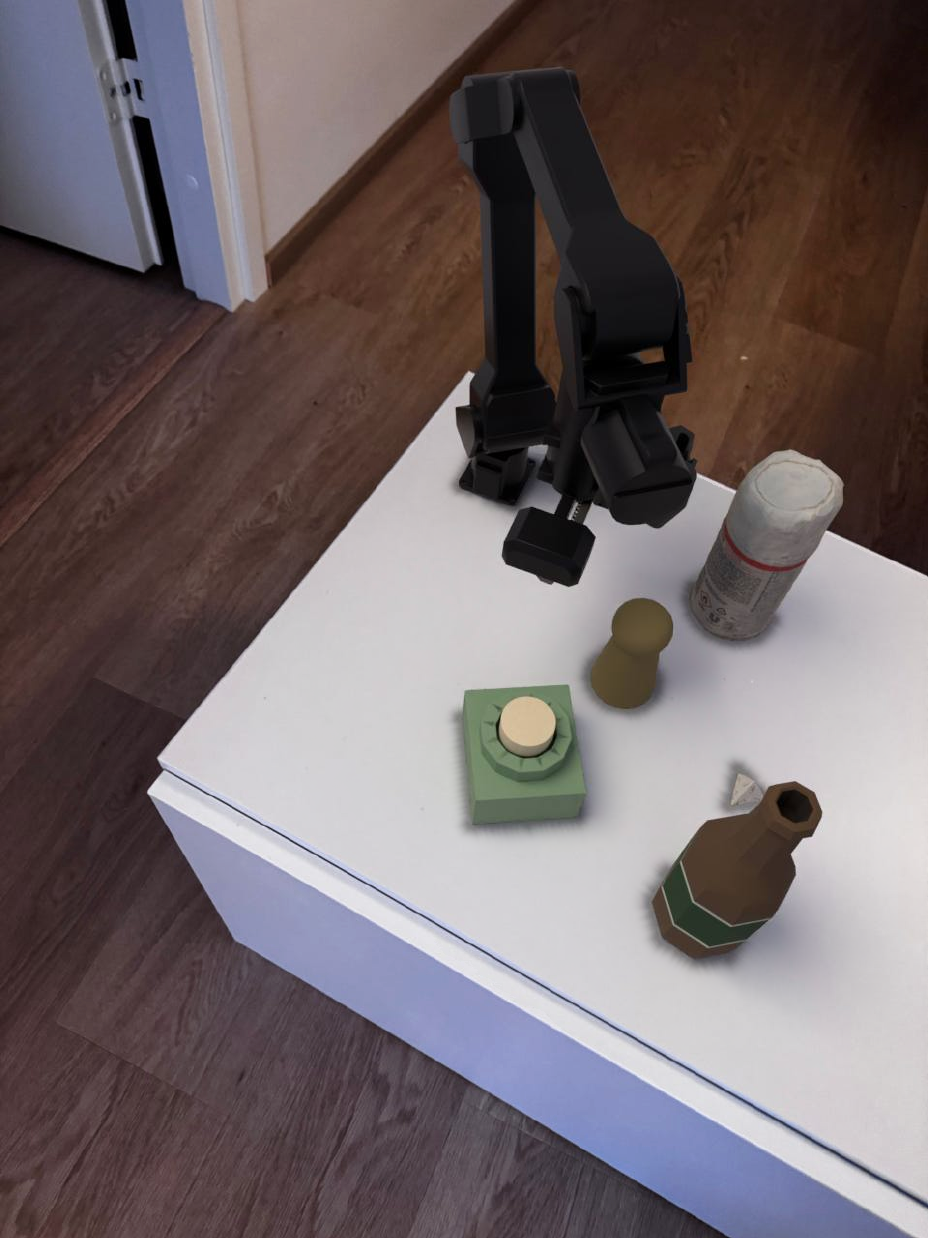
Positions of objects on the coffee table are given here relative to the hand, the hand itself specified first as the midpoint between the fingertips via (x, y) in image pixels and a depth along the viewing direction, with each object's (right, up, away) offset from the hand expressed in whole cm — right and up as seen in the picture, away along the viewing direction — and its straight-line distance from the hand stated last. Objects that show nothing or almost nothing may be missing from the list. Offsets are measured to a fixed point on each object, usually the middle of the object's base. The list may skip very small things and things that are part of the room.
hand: (564, 540), depth 84 cm
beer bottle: (+10, -31, -5) cm, 33 cm away
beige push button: (-4, -16, -5) cm, 17 cm away
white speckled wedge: (+16, -22, +2) cm, 27 cm away
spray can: (+17, -6, +11) cm, 22 cm away
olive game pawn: (+6, -12, +7) cm, 15 cm away
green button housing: (-4, -20, +1) cm, 20 cm away
